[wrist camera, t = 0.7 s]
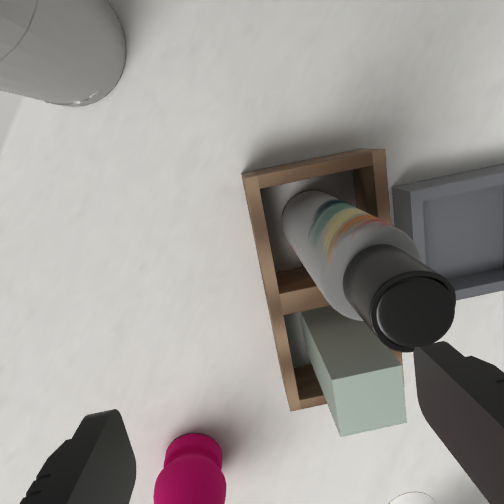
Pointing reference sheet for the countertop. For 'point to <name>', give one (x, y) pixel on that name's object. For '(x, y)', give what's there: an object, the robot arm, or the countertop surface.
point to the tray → (457, 227)
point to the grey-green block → (354, 371)
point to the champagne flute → (413, 499)
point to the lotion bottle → (369, 271)
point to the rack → (299, 280)
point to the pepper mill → (191, 472)
